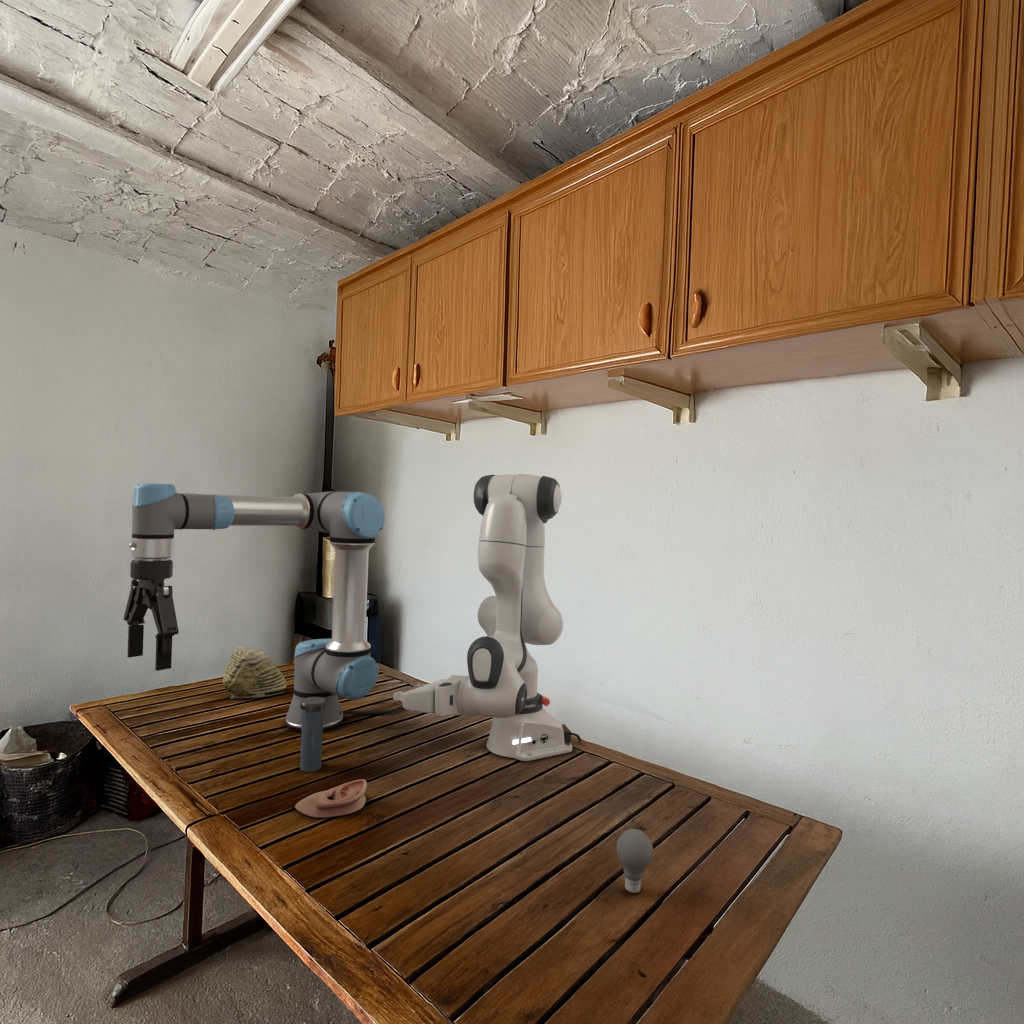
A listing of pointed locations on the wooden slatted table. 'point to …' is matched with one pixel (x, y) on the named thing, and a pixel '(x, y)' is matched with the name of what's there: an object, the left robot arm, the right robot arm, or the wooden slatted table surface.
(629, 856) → the light bulb
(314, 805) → the anatomical model
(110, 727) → the wooden slatted table surface
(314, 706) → the lid
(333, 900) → the wooden slatted table surface
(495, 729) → the right robot arm
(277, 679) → the fossil
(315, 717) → the jar
